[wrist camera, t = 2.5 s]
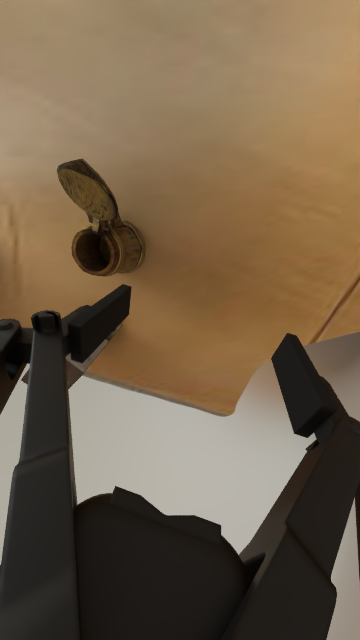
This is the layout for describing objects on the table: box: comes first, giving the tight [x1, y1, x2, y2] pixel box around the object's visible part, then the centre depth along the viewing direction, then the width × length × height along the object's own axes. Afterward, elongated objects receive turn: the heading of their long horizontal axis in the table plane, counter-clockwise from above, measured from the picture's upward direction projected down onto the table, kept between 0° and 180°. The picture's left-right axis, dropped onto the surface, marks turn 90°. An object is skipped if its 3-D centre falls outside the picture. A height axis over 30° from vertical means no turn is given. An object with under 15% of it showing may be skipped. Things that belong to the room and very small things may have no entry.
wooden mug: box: [57, 159, 145, 276], centre depth 27 cm, size 9×14×18 cm, turn 156°
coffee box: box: [22, 324, 122, 389], centre depth 36 cm, size 9×6×16 cm
